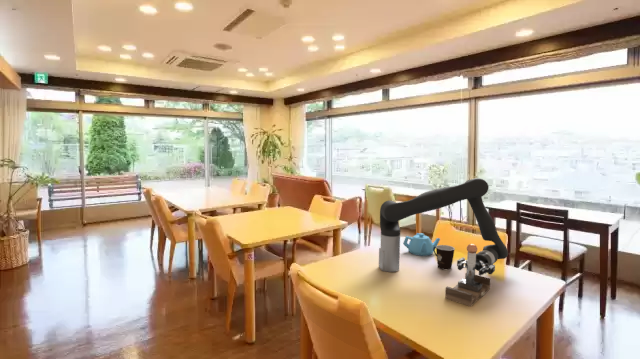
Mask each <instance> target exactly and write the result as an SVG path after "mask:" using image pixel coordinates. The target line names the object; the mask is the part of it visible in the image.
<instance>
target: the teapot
mask: <svg viewBox="0 0 640 359" xmlns="http://www.w3.org/2000/svg"><path fill="white" fill-rule="evenodd" d="M409 240H410V241H409ZM408 241H409V243H408ZM440 241H441V238H440V237H436V238H435V240H434V241H432V239H430V236H427V235H425V233H422V232H420V233H419V232H416V234H415V235H413V237H412V236H409V235H408V236H407V235H406V236H405V238H404V240H403V242H402V243H403V245H404V247H405V248H407V249H408V251H409V253H411V255H416V256H421V257H425V256H426V257H427V256H430V255H432V254H433V253H434V251H433V248H434V247H436V246H438V245H439V242H440ZM435 250H436V248H435Z"/></svg>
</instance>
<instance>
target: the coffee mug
mask: <svg viewBox="0 0 640 359" xmlns="http://www.w3.org/2000/svg"><path fill="white" fill-rule="evenodd" d="M435 248H436V249H435ZM455 250H456V249H455V247H454V246H452V245H447V244H440V245H439V244H438V245H437V246H436V247H434V248H433V253H434V255H435V256H436V262H437V263H436V264H437V268H439V269H440V270H445V271H446V270H451V269H452V267H453V266H452V265H453V262H454V261H453V260H454V254H455Z"/></svg>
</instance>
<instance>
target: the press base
mask: <svg viewBox="0 0 640 359" xmlns="http://www.w3.org/2000/svg"><path fill="white" fill-rule="evenodd" d="M464 277H465V278H464V279H466V273H465V276H464ZM491 281H492V280H491V278H489V277H486V276H483V275H481V276H480V275H479V274H475V281H474V282H478V283H481V284H482V289H481V290H480V291H479V292H475V291H472V290H468V289H465V288H461V287H458V284H456V285H455V286H453V287H450V286H446V287H445V292H444V293H445V297H444V298H445V300H449V301H453V302H456V303H459V304H461V305H465V306H468V307H472V306H473V305H474V304H475V303H476V302H477V301H479V300H480V298H483V297H484V296H485V294H486V293H487V292H488V291H489V290H490V289H491Z"/></svg>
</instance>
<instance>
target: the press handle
mask: <svg viewBox="0 0 640 359" xmlns="http://www.w3.org/2000/svg"><path fill="white" fill-rule="evenodd" d="M466 251H467V254H466V255H467V257H466V260H467V268H466V272H465V274H466V279H465V278H461V279H460V280H459V281H457V285H458V287H461V288H465V289H468V290H472V291H475V292H479V291H480V290H481V289H482V284H481V283H478V282H474V281H475V275H476V269H475V264H476V254H477V253H478V247H477V245H476V244H475V243H469V244H468V245H467V246H466Z"/></svg>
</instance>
